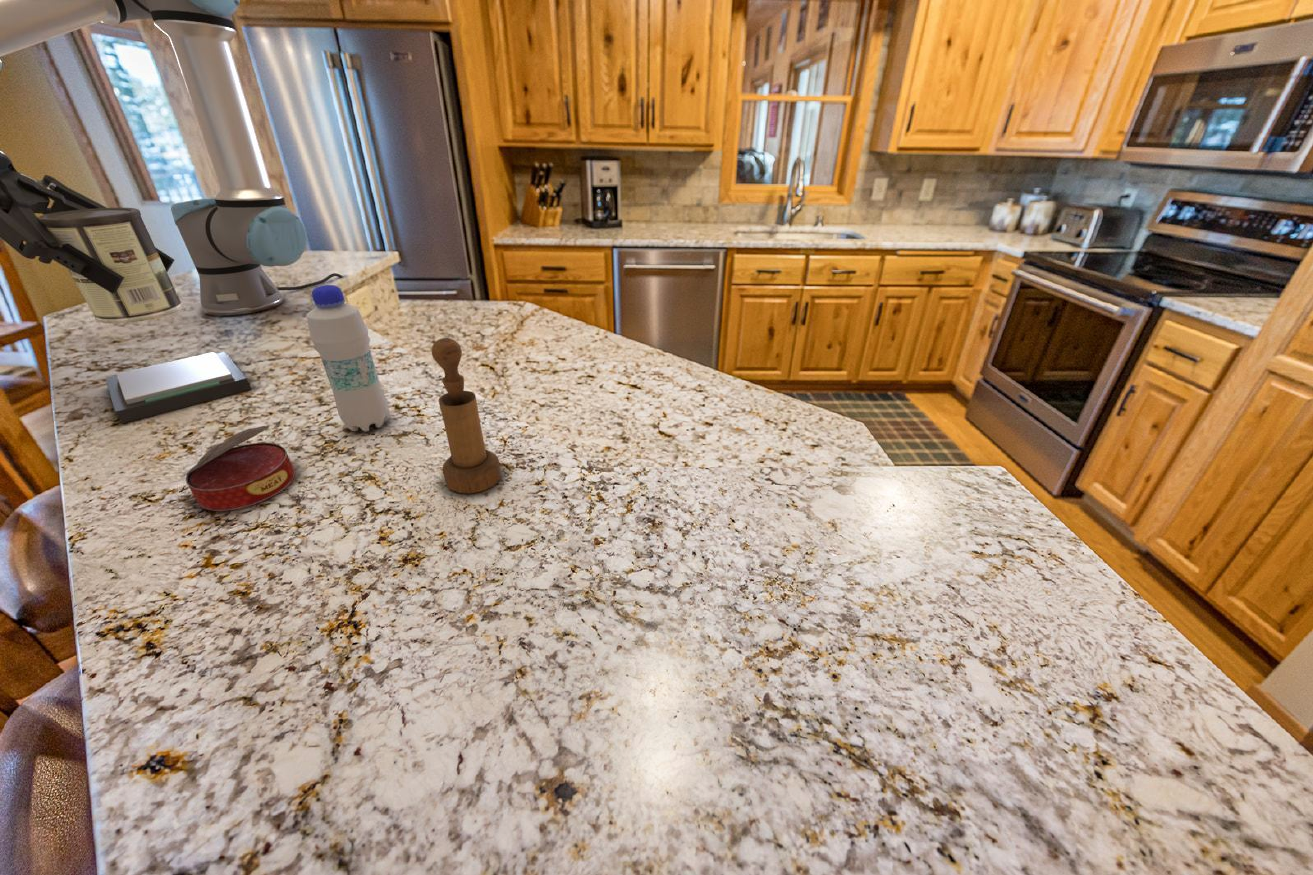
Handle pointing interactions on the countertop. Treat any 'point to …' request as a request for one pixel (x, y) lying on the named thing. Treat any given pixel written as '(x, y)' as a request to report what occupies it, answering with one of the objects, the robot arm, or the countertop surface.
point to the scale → (174, 385)
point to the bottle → (347, 359)
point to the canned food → (240, 473)
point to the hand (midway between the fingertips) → (145, 275)
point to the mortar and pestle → (463, 428)
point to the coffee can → (117, 263)
